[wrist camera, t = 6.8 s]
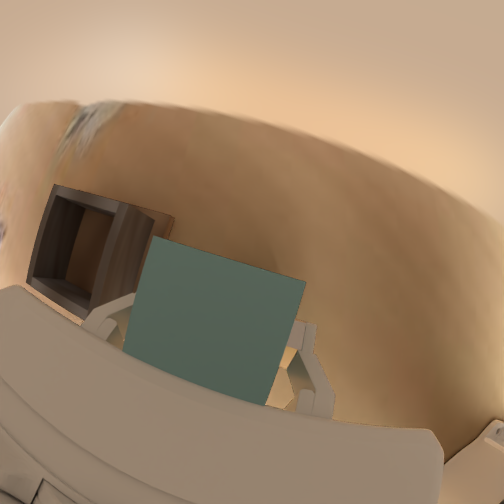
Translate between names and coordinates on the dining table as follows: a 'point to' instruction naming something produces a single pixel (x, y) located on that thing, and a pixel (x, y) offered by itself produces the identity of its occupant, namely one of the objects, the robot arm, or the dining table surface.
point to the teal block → (212, 320)
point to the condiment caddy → (91, 249)
